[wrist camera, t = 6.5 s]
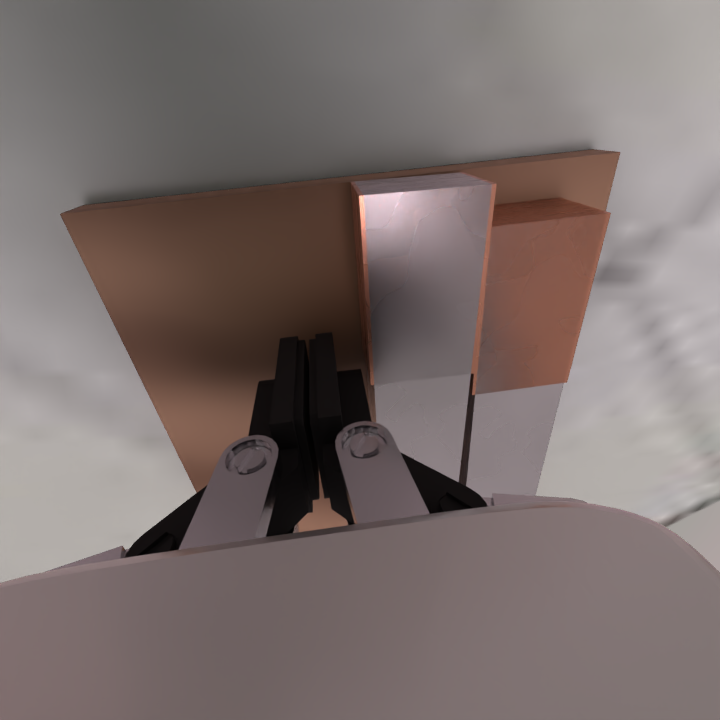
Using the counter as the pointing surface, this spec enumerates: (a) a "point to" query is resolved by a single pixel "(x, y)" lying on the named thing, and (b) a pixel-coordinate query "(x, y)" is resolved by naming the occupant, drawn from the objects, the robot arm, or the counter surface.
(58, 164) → the counter surface
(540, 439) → the tongs fixed
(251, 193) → the walnut board
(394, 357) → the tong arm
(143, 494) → the counter surface
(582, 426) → the counter surface
